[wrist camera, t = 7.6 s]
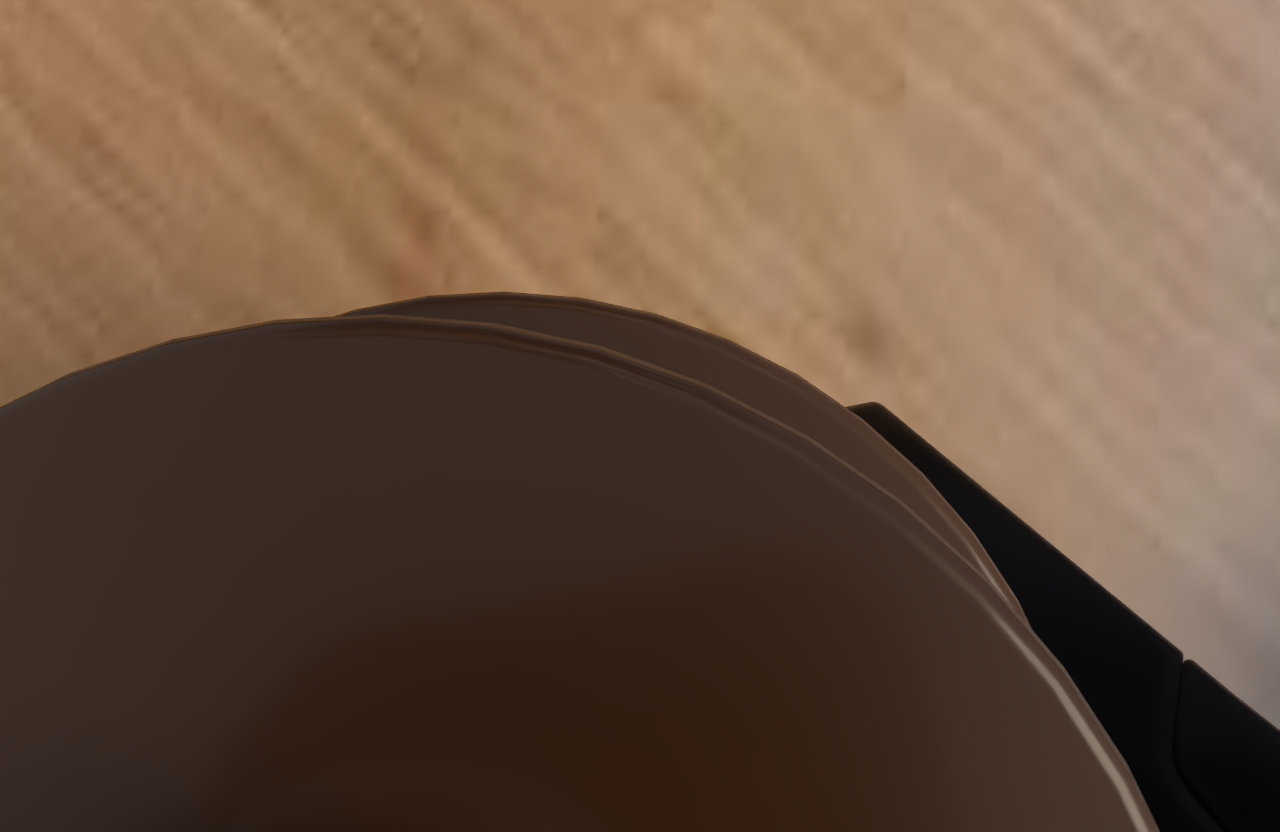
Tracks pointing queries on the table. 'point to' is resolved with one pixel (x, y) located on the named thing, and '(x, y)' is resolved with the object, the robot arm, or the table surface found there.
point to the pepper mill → (507, 595)
